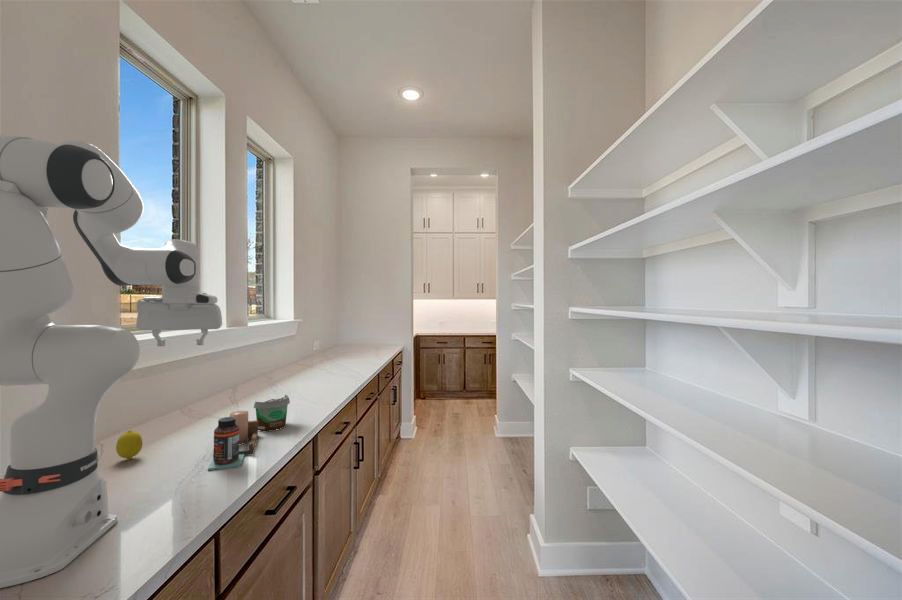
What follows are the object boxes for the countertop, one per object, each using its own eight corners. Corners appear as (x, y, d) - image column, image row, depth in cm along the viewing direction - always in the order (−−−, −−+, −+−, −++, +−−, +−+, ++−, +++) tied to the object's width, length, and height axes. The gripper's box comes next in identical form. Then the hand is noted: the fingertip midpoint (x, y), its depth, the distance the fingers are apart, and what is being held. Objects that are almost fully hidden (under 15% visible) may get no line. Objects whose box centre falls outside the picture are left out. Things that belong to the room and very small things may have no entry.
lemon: (127, 464, 103) (127, 434, 103) (110, 462, 104) (110, 432, 104) (147, 456, 108) (147, 427, 108) (131, 454, 109) (131, 426, 109)
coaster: (240, 466, 102) (241, 464, 102) (207, 470, 99) (207, 468, 99) (244, 455, 109) (244, 453, 109) (213, 459, 106) (213, 457, 106)
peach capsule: (247, 444, 118) (247, 414, 118) (228, 446, 116) (228, 416, 116) (248, 438, 123) (249, 410, 123) (230, 440, 121) (231, 411, 121)
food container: (264, 435, 126) (264, 404, 126) (253, 431, 129) (253, 401, 129) (297, 425, 136) (297, 396, 136) (286, 422, 139) (286, 394, 139)
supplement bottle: (207, 463, 102) (208, 420, 102) (227, 455, 108) (227, 414, 108) (225, 466, 101) (225, 423, 101) (244, 458, 106) (244, 416, 106)
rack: (252, 454, 110) (253, 436, 110) (213, 459, 106) (213, 441, 106) (257, 435, 125) (257, 420, 125) (223, 439, 122) (223, 423, 122)
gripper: (132, 297, 105) (132, 348, 105) (219, 297, 112) (219, 345, 112) (141, 297, 110) (140, 345, 111) (223, 297, 118) (223, 343, 118)
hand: (180, 345), depth 111 cm, fingers open, 8 cm apart
